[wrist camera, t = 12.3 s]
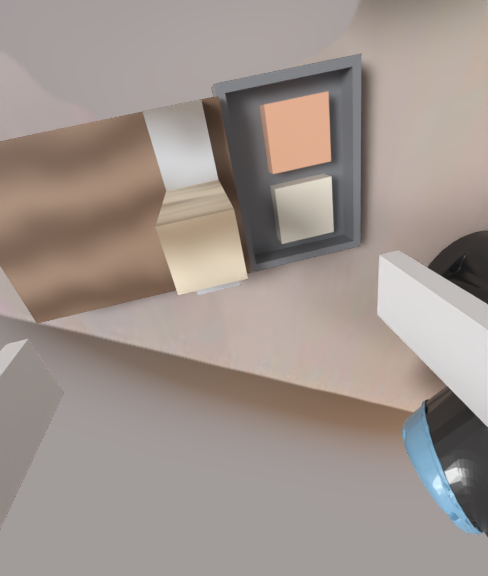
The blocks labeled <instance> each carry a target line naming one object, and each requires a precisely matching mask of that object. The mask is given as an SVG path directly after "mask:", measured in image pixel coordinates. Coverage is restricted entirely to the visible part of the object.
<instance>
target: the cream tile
mask: <svg viewBox="0 0 488 576" xmlns="http://www.w3.org/2000/svg"><path fill="white" fill-rule="evenodd" d="M270 188H271V195H272V203H273V210H274V218H275V225H276V232H277V238H278V240H279V241H280V242H281V244H284V243H288V242H293V241H297V240H301V239H305V238H310V237H314V236H318V235H323V234H327V233H331V232H334V226H333V200H332V176H329V175H326V174H320V175H316V176H311V177H307V178H302V179H298V180H293V181H289V182H284V183H280V184H276V185H271V186H270Z"/></svg>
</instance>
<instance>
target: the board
mask: <svg viewBox="0 0 488 576" xmlns="http://www.w3.org/2000/svg"><path fill="white" fill-rule="evenodd" d="M201 101H202V105H203V110H204V115H205V119H206V124H207V129H208V133H209V138H210V143H211V147H212V152H213V157H214V161H215V166H216V171H217V176H218V180H219V182H220V184H221V186H222V187H223V189H224V191H225V193H226V195H227V197H228V199H229V201H230V202H231V204H232V206H233V208H234V211H235V216H236V221H237V226H238V231H239V236H240V241H241V246H242V252H243V257H244V262H245V267H246V272H247V273H250V272H252V269H251V264H250V259H249V253H248V248H247V243H246V238H245V232H244V227H243V222H242V217H241V211H240V206H239V201H238V196H237V190H236V185H235V180H234V175H233V169H232V164H231V159H230V154H229V148H228V143H227V138H226V133H225V127H224V122H223V117H222V112H221V106H220V101H219V96H216V97H211V98H206V99H201ZM165 194H166V188H165V185H164V182H163V178H162V175H161V172H160V168H159V165H158V162H157V158H156V155H155V152H154V148H153V145H152V142H151V138H150V135H149V132H148V128H147V125H146V122H145V118H144V115H143V112H139V113H134V114H129V115H125V116H119V117H115V118H110V119H105V120H100V121H95V122H91V123H86V124H81V125H76V126H71V127H67V128H62V129H57V130H52V131H47V132H42V133H38V134H33V135H28V136H23V137H18V138H14V139H9V140H4V141H0V266H1V268H2V269H3V271H4V273H5V274H6V276H7V277H8V279H9V280H10V282H11V283H12V285H13V287H14V288H15V290H16V291H17V293H18V294H19V296H20V298H21V299H22V301H23V302H24V304H25V305H26V307H27V308H28V310H29V312H30V313H31V315H32V316H33V318H34V319H35V321H36V323H41V322H45V321H49V320H54V319H58V318H62V317H66V316H70V315H74V314H79V313H83V312H87V311H91V310H95V309H100V308H104V307H108V306H112V305H116V304H120V303H125V302H129V301H133V300H137V299H141V298H146V297H150V296H154V295H158V294H162V293H166V292H171V291H175V290H176V287H175V284H174V281H173V278H172V275H171V272H170V269H169V266H168V263H167V260H166V257H165V254H164V251H163V248H162V245H161V243H160V240H159V237H158V234H157V231H156V228H155V226H156V223H157V220H158V216H159V213H160V210H161V207H162V203H163V200H164V197H165Z"/></svg>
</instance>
